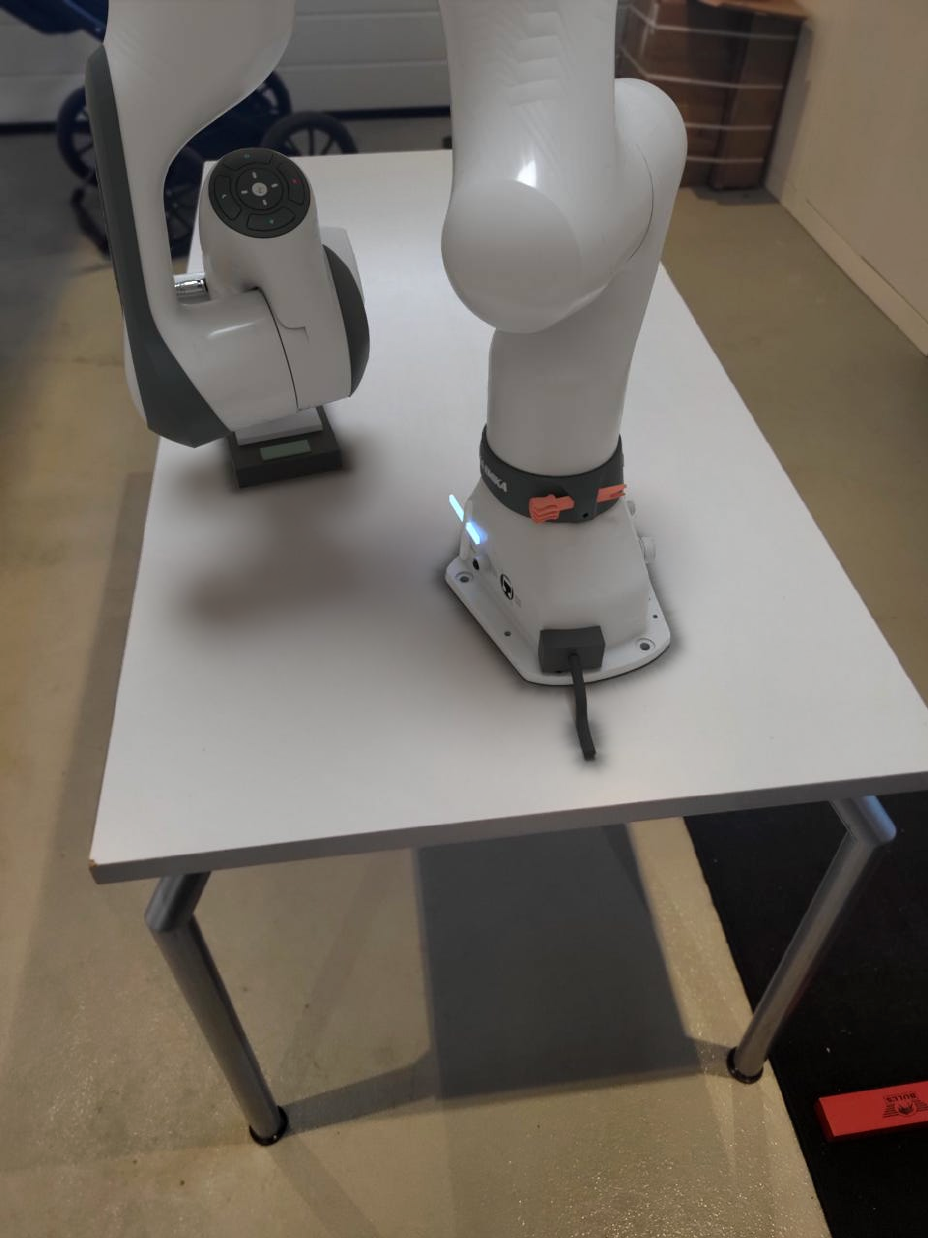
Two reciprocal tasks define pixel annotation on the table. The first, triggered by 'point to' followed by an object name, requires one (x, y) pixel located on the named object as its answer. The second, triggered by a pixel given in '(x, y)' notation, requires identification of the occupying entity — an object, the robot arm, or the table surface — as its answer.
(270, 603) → the table surface
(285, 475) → the kitchen scale
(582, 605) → the robot arm
